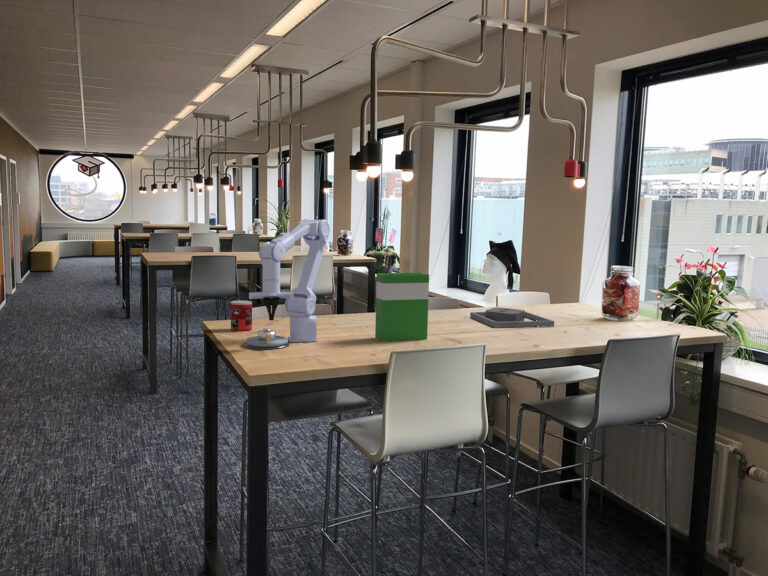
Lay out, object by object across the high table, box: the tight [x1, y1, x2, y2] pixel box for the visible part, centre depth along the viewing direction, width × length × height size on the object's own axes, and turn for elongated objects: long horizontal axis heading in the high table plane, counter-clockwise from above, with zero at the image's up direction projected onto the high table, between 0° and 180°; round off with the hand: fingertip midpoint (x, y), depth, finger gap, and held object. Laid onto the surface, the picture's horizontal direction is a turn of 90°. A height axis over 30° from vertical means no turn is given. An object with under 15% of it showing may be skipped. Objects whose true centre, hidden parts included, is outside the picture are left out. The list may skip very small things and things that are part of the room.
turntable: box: [245, 333, 289, 347], centre depth 212 cm, size 15×14×4 cm
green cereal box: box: [374, 272, 430, 342], centre depth 228 cm, size 18×7×24 cm, turn 111°
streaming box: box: [484, 307, 526, 322], centre depth 273 cm, size 14×14×5 cm
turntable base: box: [244, 341, 290, 351], centre depth 213 cm, size 15×15×1 cm
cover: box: [257, 327, 277, 341], centre depth 212 cm, size 6×6×4 cm
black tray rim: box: [469, 311, 555, 329], centre depth 273 cm, size 27×27×2 cm
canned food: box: [230, 300, 253, 332], centre depth 239 cm, size 8×8×11 cm
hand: (271, 320), depth 208 cm, fingers closed
